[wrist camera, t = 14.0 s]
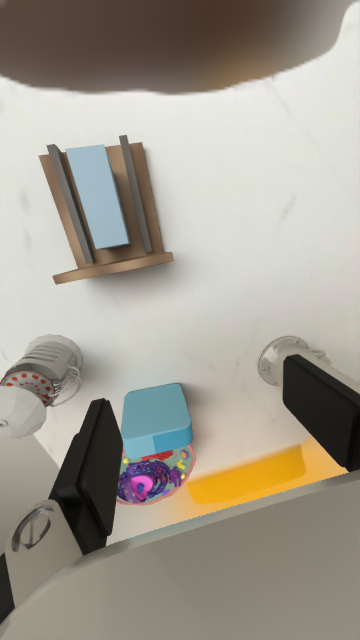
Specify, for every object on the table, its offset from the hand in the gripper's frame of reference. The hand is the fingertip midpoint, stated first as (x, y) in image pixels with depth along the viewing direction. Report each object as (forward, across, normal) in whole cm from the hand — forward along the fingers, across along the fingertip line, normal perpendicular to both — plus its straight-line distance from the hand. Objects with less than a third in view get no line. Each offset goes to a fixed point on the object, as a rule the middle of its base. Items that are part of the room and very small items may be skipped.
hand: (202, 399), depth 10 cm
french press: (+28, +21, +8) cm, 36 cm away
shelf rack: (+28, +6, -14) cm, 32 cm away
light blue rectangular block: (+27, +6, -14) cm, 31 cm away
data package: (+29, +6, +22) cm, 37 cm away
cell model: (+29, +10, +34) cm, 46 cm away
